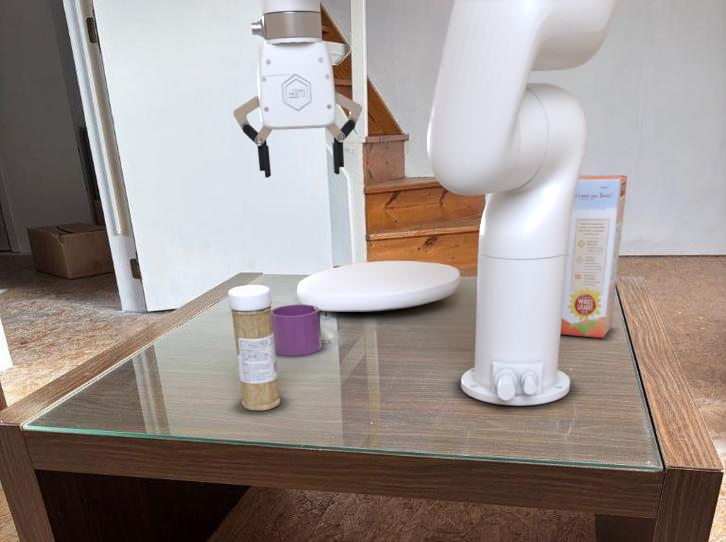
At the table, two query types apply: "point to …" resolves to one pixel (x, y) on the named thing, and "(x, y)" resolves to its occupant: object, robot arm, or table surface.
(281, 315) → the cup
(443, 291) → the plate
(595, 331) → the cracker box
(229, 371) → the table surface
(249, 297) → the spice jar
